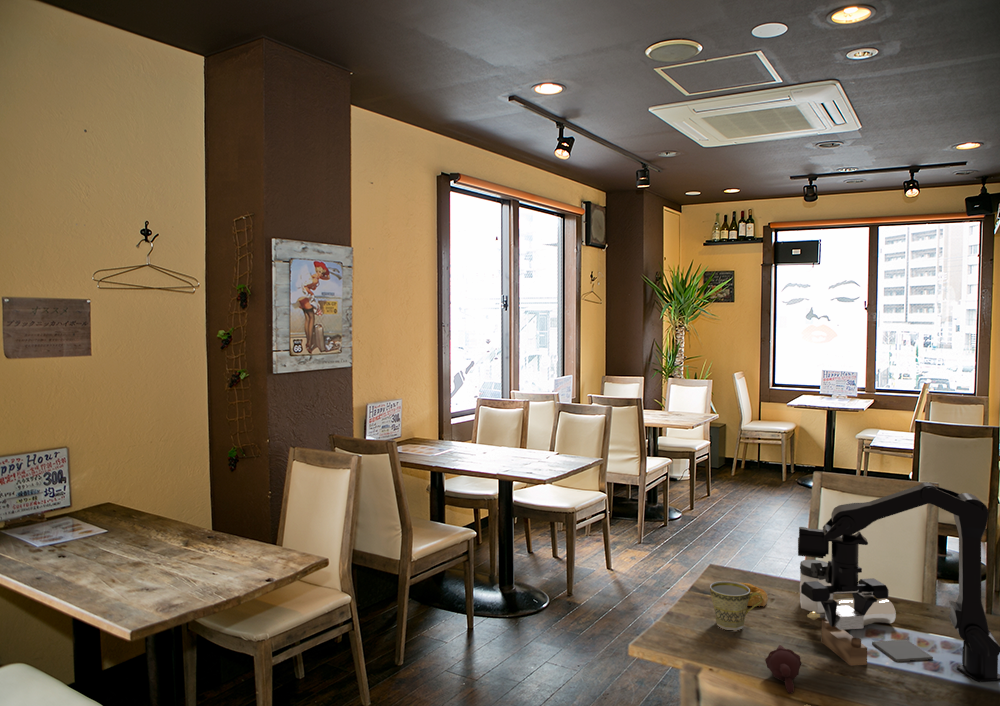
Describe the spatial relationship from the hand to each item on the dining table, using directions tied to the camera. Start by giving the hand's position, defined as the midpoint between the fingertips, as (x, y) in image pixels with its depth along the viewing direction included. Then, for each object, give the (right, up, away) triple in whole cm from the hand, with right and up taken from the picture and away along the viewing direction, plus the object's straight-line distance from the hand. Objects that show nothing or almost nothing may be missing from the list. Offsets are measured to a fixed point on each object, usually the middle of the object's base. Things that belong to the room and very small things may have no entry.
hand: (844, 625), depth 167 cm
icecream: (-19, -8, -11) cm, 23 cm away
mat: (+14, -7, +1) cm, 16 cm away
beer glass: (+20, -3, +17) cm, 27 cm away
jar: (+6, -6, +27) cm, 28 cm away
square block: (0, 0, 0) cm, 0 cm away
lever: (-1, -2, +10) cm, 10 cm away
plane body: (0, -7, +1) cm, 7 cm away
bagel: (-12, -6, +32) cm, 35 cm away
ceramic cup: (-20, -7, +16) cm, 27 cm away
